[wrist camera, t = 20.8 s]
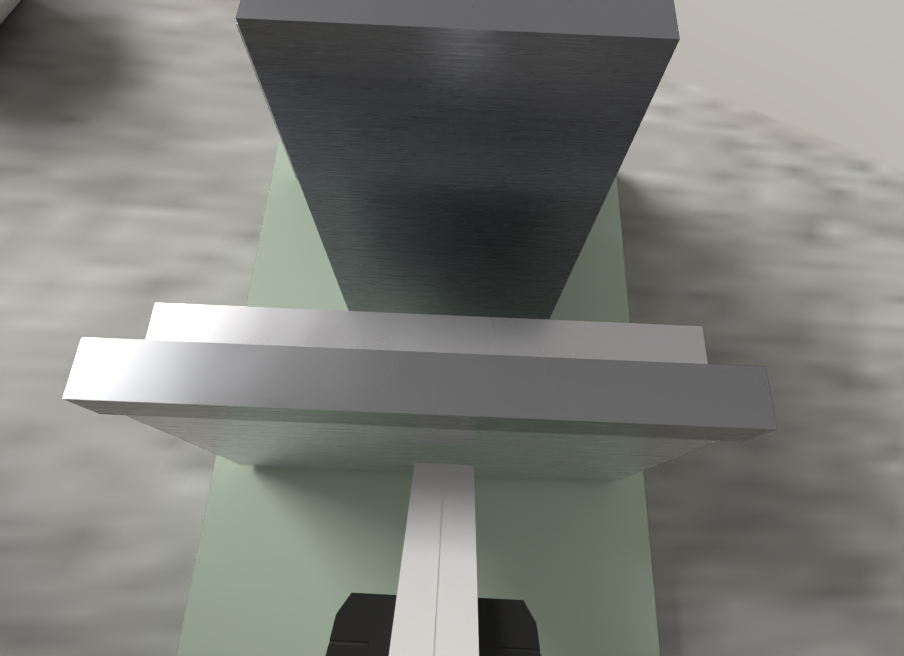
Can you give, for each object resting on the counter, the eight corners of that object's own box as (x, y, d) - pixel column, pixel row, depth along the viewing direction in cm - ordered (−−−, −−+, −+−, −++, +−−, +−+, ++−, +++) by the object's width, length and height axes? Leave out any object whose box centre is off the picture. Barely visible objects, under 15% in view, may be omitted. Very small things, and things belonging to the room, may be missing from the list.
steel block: (362, 348, 19) (235, 17, 7) (378, 205, 22) (301, -224, 10) (532, 356, 19) (679, 39, 7) (530, 213, 22) (641, -209, 10)
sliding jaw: (226, 464, 18) (62, 398, 10) (240, 389, 18) (101, 276, 11) (632, 482, 18) (776, 429, 10) (626, 405, 19) (753, 304, 11)
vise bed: (177, 754, 16) (-260, 1090, 6) (290, 152, 24) (184, -128, 14) (652, 773, 16) (1003, 1142, 6) (604, 166, 24) (717, -104, 14)
